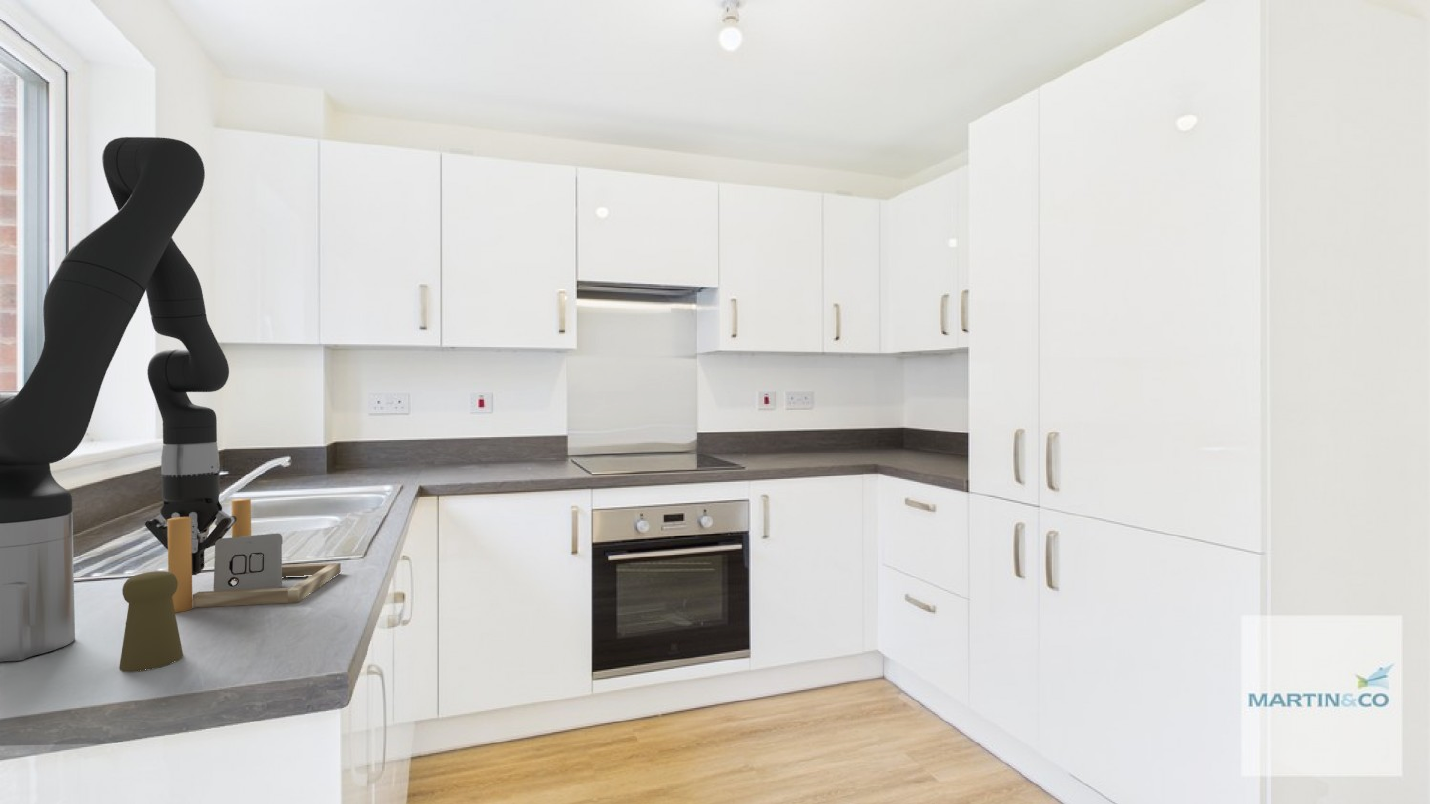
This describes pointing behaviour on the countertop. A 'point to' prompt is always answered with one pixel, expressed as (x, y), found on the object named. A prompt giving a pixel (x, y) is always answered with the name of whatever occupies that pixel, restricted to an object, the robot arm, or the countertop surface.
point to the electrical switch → (248, 562)
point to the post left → (180, 561)
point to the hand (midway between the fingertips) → (192, 574)
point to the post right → (241, 517)
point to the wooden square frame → (273, 595)
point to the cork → (150, 622)
